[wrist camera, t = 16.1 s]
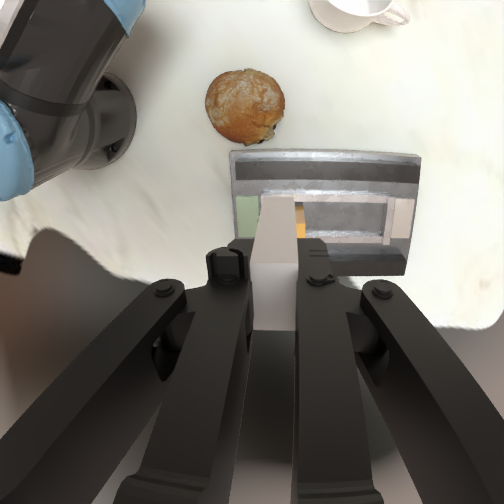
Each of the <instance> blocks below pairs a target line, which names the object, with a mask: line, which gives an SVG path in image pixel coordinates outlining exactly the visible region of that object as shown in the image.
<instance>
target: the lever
mask: <svg viewBox="0 0 504 504" xmlns="http://www.w3.org/2000/svg"><path fill="white" fill-rule="evenodd" d="M295 215H296V231H297V238H305V217H304V210H303V202H295Z"/></svg>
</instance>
